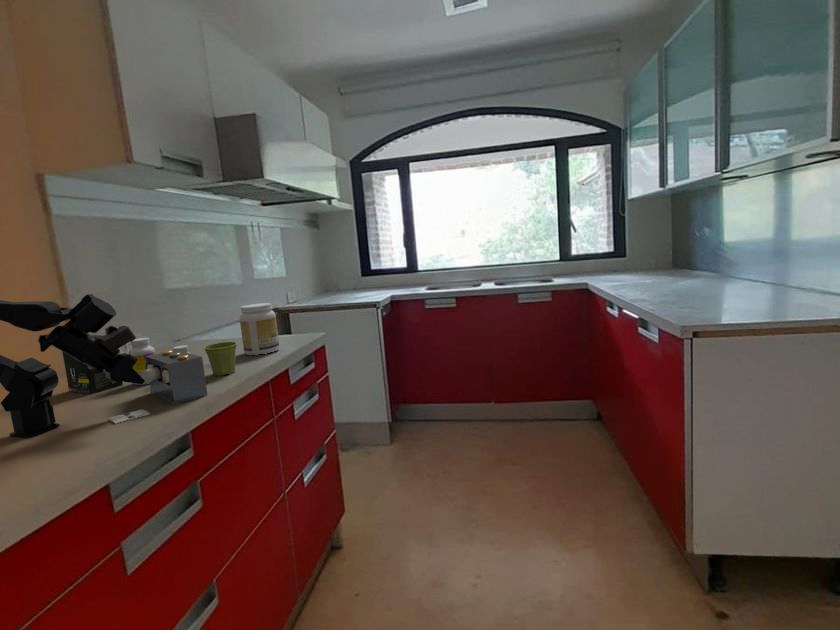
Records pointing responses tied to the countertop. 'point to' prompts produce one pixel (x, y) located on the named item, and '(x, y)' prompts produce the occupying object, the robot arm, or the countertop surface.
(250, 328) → the supplement tub
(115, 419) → the card
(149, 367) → the button
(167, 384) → the console
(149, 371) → the button
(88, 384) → the tampon box
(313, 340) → the countertop surface
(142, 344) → the supplement bottle
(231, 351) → the plant pot
